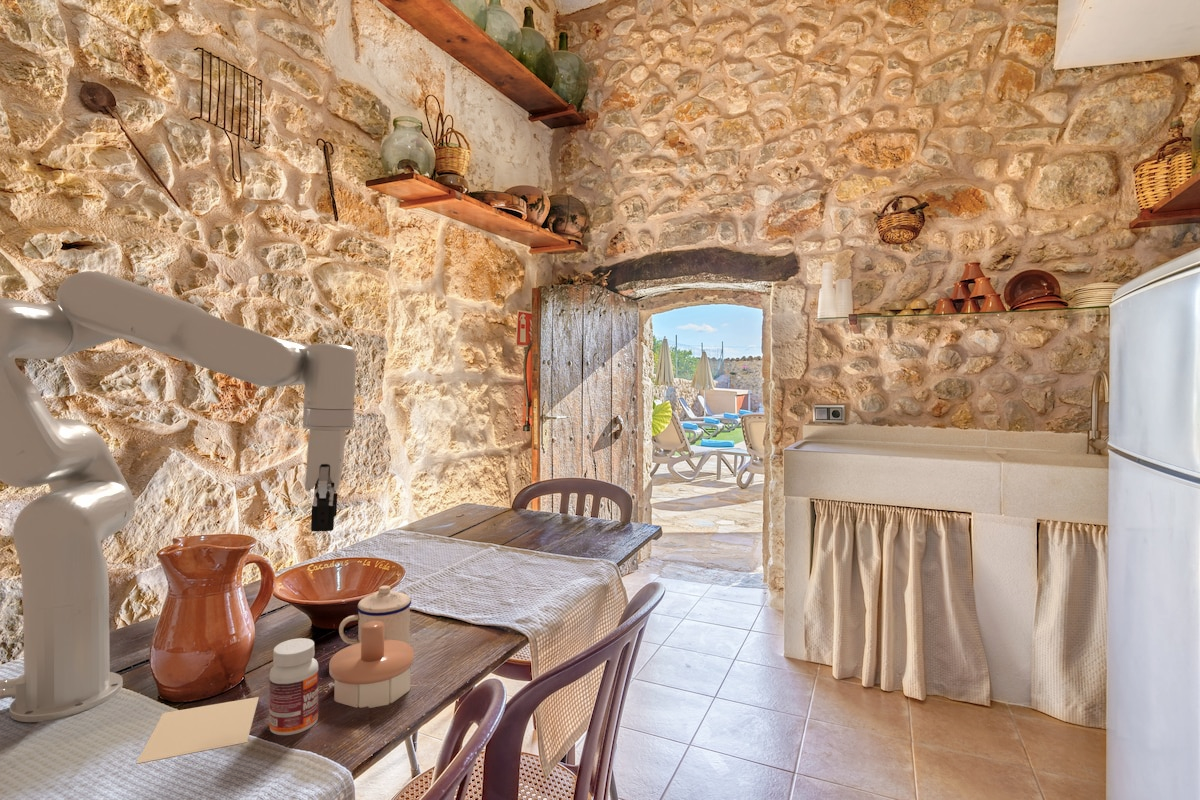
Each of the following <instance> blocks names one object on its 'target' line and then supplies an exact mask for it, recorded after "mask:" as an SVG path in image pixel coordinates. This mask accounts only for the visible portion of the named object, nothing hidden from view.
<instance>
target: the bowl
mask: <svg viewBox="0 0 1200 800" xmlns="http://www.w3.org/2000/svg"><path fill="white" fill-rule="evenodd" d="M411 667H412V666H411ZM411 667H410V668H409V669H408V670H407V671H405V672H404V673H402V674H400V675H398V676H396V677H394V678H391V679H389V680H386V681H382V682H377V683H371V684H358V685H356V684H346V683H342V682H339V681H336V680H335V679H333V680H334V681H333V685H334V688H333V689H334V693H333V694H334V695H333V696H334V698H333V700H334V701H335V702H336V703H338V704H343V705H346V706H349V707H353V708H357V709H358V707H359V709H360V708H366V707H368V709H372V708H373V709H374V708H376V707H377V708H378V707H383V706H388V705H390V704H394V702H396V701H397V700H398V699H400V698H401V697H403V696H404V695H405V694H407V693H408V692H409V691H410V690H411V687H412V686H411V685H412V684H411V682H412V681H411V677H412V674H411V671H412V670H411V669H412V668H411Z"/></svg>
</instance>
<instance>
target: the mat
mask: <svg viewBox="0 0 1200 800" xmlns="http://www.w3.org/2000/svg"><path fill="white" fill-rule="evenodd" d="M259 698H260V696H255V697H250V698H249V697H248V698H244V699H238V700H234V701H233V700H232V701H225V702H219V703H214V704H207V705H202V706H198V707H197V706H196V707H191V708H186V709H180V710H173V711H166V712H162V714H161V716H160V718H159V720H158V721H157V724H156V725H155V728H154V730H153V731H152V733H151V734H150V737H149V739H148V741H147V743H146V744H145V745H144V748H143V750H142V751H141V754H140V755H139V757H138V759H137V760H136V763H138V764H143V763H147V762H153V761H158V760H163V759H168V758H169V759H170V758H175V757H178V756H179V757H180V756H183V755H191V754H194V753H199V752H205V751H210V750H214V749H215V750H216V749H221V748H226V747H230V746H236V745H241V744H246V743H248V740H249V736H250V733H251V730H252V729H251V728H252V726H253V721H254V718H255V714H256V709H257V707H258V703H259ZM138 764H137V765H138Z"/></svg>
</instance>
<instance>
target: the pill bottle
mask: <svg viewBox="0 0 1200 800" xmlns="http://www.w3.org/2000/svg"><path fill="white" fill-rule="evenodd" d="M315 653H316V652H315V641H314V640H313V639H310V638H307V637H306V638H305V637H304V638H303V637H301V638H292V639H288V640H285V641H282V642H280V643H278V644H277V645H275V646H274V648H273V653H272V655H273V657H272V662H273V666H272V667H271V668H270V671H269V675H268V678H269V730H270V732H271V733H272V734H274V735H278V736H293V735H296V734H300V733H302V732H304V731H306V730H308V729H310V728H312V727H313V726H314V725H315V724H316V723H317V722H318V720H319V669H320V668H319V662H318V661H317V659H316V658H314V657H315V655H316V654H315Z"/></svg>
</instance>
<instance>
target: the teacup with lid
mask: <svg viewBox="0 0 1200 800" xmlns="http://www.w3.org/2000/svg"><path fill="white" fill-rule="evenodd" d="M411 605H412V600H411V598H410V597H409V595H407V594H406V593H404V592H400V591H399V592H398V591H396V590H392V589H391V587H390V585H381V586H379V588H378V591H376V592H374V593H372V594H369V595H366V596H364V598H361V599H360V600H359V602H358V604H357V607H356V610H357V612H358V614H353V615H348V616H347V617H345V618H343V620H342V621H341V622H340V624H339V627H338V633H339V636H340V638H341V640H342V641H343V642H344V643H346V644H347V645H354V644H357V643H360V642H361V626H362V625H363V624H364V623H367V622H371V621H381V622H383V623H384V639H389V640H398V641H402V642H405V643H407V644H409V645H410V621H411V620H410V617H411V616H410V613H411V611H410V610H411V609H410V608H411V607H410V606H411ZM355 621H358V627H357V628H358V629H357V631H358V632H357V633H358V634H357V637H356V638H350V637H347V636H346V634H345V633H344V630H345V629H344V628H345V626H346V625H347V624H348V623H351V622H355Z"/></svg>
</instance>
